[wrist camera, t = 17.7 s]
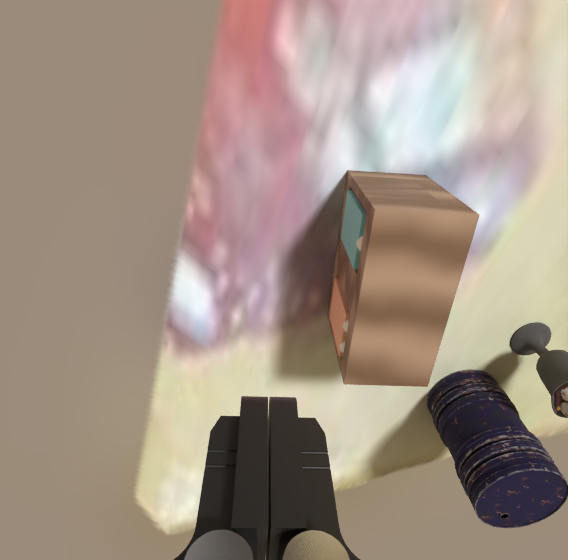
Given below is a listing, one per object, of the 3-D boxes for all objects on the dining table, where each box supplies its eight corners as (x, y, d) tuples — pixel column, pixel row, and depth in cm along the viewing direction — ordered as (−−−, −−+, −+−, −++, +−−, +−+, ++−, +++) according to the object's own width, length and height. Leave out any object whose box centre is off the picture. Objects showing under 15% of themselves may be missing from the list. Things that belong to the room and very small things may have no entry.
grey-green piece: (346, 189, 40) (361, 215, 33) (408, 193, 40) (435, 219, 34) (339, 237, 42) (352, 270, 36) (398, 240, 42) (422, 273, 36)
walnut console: (347, 170, 41) (374, 209, 31) (425, 175, 42) (479, 215, 31) (327, 314, 49) (343, 384, 39) (393, 316, 50) (427, 386, 39)
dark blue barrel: (453, 359, 53) (514, 458, 40) (514, 381, 55) (591, 482, 42) (412, 412, 57) (455, 518, 44) (470, 430, 60) (528, 536, 46)
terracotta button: (333, 277, 44) (345, 315, 38) (390, 280, 45) (410, 318, 38) (328, 316, 47) (338, 358, 40) (381, 318, 47) (400, 360, 40)
